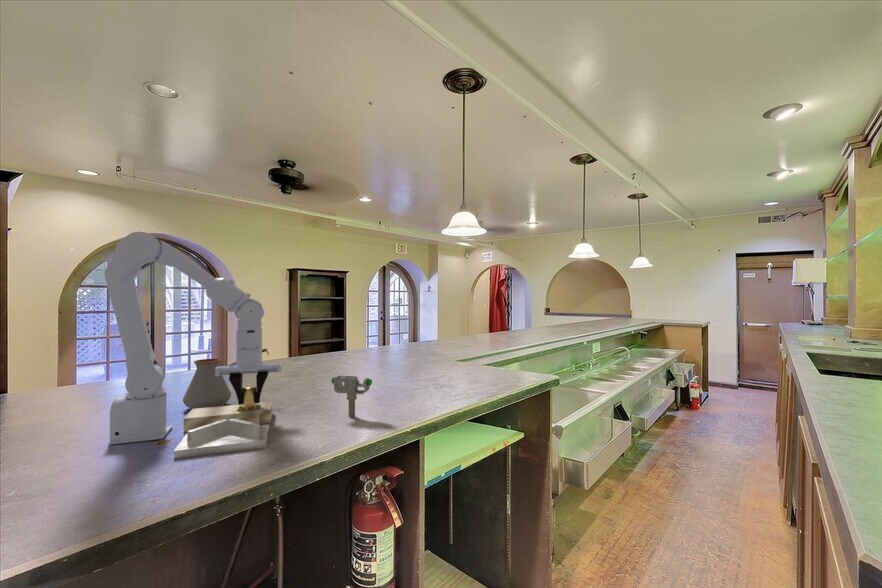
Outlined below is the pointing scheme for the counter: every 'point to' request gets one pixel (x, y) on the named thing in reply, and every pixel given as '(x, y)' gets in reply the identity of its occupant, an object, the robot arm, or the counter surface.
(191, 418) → the beam
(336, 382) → the mechanical component
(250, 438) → the v-block
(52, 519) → the counter surface
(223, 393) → the coffee pot
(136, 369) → the robot arm
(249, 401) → the axle
